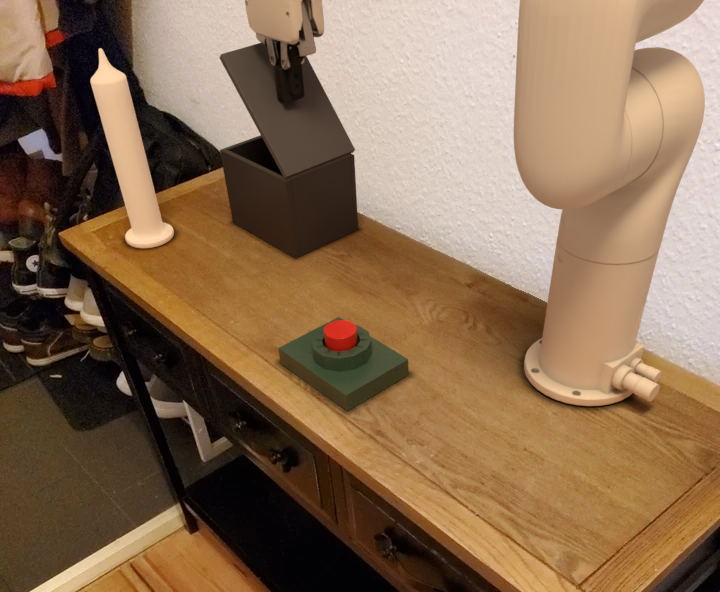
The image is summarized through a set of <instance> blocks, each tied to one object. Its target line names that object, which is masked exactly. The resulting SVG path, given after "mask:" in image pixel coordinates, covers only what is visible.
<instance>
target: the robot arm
mask: <svg viewBox="0 0 720 592" xmlns="http://www.w3.org/2000/svg"><path fill="white" fill-rule="evenodd" d="M704 1H705V0H519V6H518V22H517V43H516V63H515V83H514V84H515V86H514V107H513V108H514V109H513V151H514V158H515V163H516V167H517V170H518V173H519V176H520V178H521V181H522V182H523V185H524V187H525V188H526V189H527V191H528V192H529V193H530V195H531V196H532V197H533V198H534V199H535V200H536V201H538V202H539V203H541V204H543V205H544V206H546V207H548V208H551V209H555V210H561V214H560V219H559V226H558V229H557V230H558V231H557V237H556V243H555V250H554V256H553V263H552V270H551V276H550V283H549V289H548V290H549V291H548V297H547V303H546V304H547V305H546V310H545V317H544V323H543V329H542V330H543V331H542V335H541V336H542V337H541V338H538V339H537V340H536V341H535V342H533V343H532V344H531V345H530V346H529V347H528V348H527V350H526V353H525V355H524V360H523V361H524V362H523V371H524V374H525V377H526V378H527V380H528V382H529V383H530V384H531V385H532V386H533V387H534V388H535V389H536V390H537V391H539V392H540V393H541V394H543V395H545V396H547V397H549V398H551V399H553V400H555V401H558V402H561V403H564V404H569V405H574V406H583V407H600V406H601V407H602V406H606V405H612V404H616V403H618V402H622V401H623V400H625V399H627V398H629V397H631V395H633V394H634V395H636V396H637V397H639V398H641V399H643V400H644V401H647V402H649V403H650V402H652V401H653V400H655V398H656V397H657V395H658V394H659V391H660V389H661V385H660V384H659V383H658V382H659V381H660V379H661V378H662V376H663V371H661V370H659V369H658V368H656V367H653V366H651V365H648V364H646V363H645V362H644V360H643V359H642V357H643V353H644V348H645V344H642V343H640V342H638V341H637V338H638V334H639V330H640V326H641V323H642V318H643V315H644V311H645V307H646V303H647V299H648V295H649V292H650V288H651V284H652V278H653V276H654V272H655V268H656V264H657V260H658V257H659V252H660V249H661V246H662V242H663V239H664V234H665V232H666V231H665V230H666V227H667V223H668V219H669V215H670V213H671V209H672V207H673V203H674V200H675V197H676V194H677V191H678V189H679V186H680V183H681V180H682V178H683V176H684V174H685V171H686V170H687V168H688V167H687V166H688V165H689V162H690V159H691V158H692V155H693V153H694V150H695V147H696V145H697V142H698V139H699V136H700V132H701V129H702V125H703V123H704V116H705V107H706V106H705V105H706V104H705V103H706V97H705V89H704V84H703V81H702V78H701V76H700V74H699V72H698V70H697V68H696V67H695V65H694V64H693V62H691V61H690V60H689V59H688V58H687V57H686V56H684V55H683V54H682V53H679V52H677V51H676V50H673V49H669V48H666V47H659V46H658V47H657V46H656V47H653V46H652V47H642V48H637V49H636V46H637V45H636V44H638V43H640V42H643V41H645V40H648V39H650V38H652V37H655V36H657V35H659V34H662V33H663V32H666V31H667V30H669V29H671V28H673V27H675V26H677V25H679V24H681V23H683V22H684V21H686V20H687V19H688V18H689V17H691V16H692V15H693V14H694V13H695V12H696V11H698V9H699V8H700V7H701V5H702V4H703V3H704ZM244 5H245V12H246V15H247V16H246V18H247V22H248V25H249V28H250V29H251V30H252V31H253V32H254V33H255V37H256V40H257V41H258V42H259V43H262V44H264V45H265V46H266V48H267V50H268V53H269V58H270V62H271V64H272V65H273V66H275V65H276V66H275V67H274V74H275V82H276V91H277V98H278V100H279V101H283V102H285V103H290V102H292V101H295V100H298V99H301V98H303V97H304V84H303V73H302V64H304V57H305V56H307V57H308V56H310V55H314V54H316V53H317V47H316V46H317V45H316V42H315V41H316V40H315V38H320V37H322V36H323V35H324V33H325V20H324V19H325V16H324V7H323V0H244Z"/></svg>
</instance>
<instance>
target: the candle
mask: <svg viewBox="0 0 720 592" xmlns="http://www.w3.org/2000/svg"><path fill="white" fill-rule="evenodd" d="M89 83H90V85H91V89H92V93H93V97H94V100H95V104H96V107H97V110H98V113H99V114H98V115H99V116H100V121H101V125H102V129H103V131H104V135H105V139H106V142H107V146H108V149H109V153H110V156H111V160H112V164H113V167H114V171H115V175H116V178H117V181H118V185H119V187H120V188H119V189H120V192H121V195H122V199H123V202H124V206H125V209H126V213H127V217H128V220H129V224H130V228H129V229H128V230H127V231H126V232H125V234H124V239H125V242H126V244H127V245H129V246H130V247H132V248H136V249H153V248H157V247H160V246H163V245H165V244H167V243H169V242H170V241H171V240H173V237H174V236H175V230H174V227H173V226H172V225H171V224H170V223H167V222H164V221H163V219H162V214H161V210H160V206H159V202H158V198H157V194H156V190H155V186H154V183H153V178H152V175H151V171H150V166H149V161H148V158H147V155H146V150H145V147H144V142H143V139H142V135H141V130H140V126H139V121H138V118H137V114H136V110H135V107H134V102H133V99H132V94H131V91H130V87H129V82H128V79H127V75H126V74H125V72H122V71H121V70H118V69H117V68H116V67H114V66H113V65H112V64H111V63H110V61H109V59H108V57H107V56H106V54H105V51H104V49H103V48H101V47H100V48H98V68H97V69H96V70H95V72H94V74H93V75H92V76H91V77H90V82H89Z"/></svg>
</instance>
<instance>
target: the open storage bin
mask: <svg viewBox="0 0 720 592" xmlns="http://www.w3.org/2000/svg"><path fill="white" fill-rule="evenodd" d="M219 153H220V158H221V164H222V169H223V175H224V181H225V186H226V193H227V197H228V203H229V207H230V208H229V209H230V214H231V220H232V223H233V224H235V225H236V226H238V227H239V228H241V229H243V230H245V231H246V232H249V233H250V234H252V235H253V236H255V237H257V238H259V239H260V240H263V241H264V242H266V243H267V244H269V245H271V246H273V247H274V248H277V249H278V250H280V251H282V252H284V253H285V254H287V255H288V256H290V257H293V258H294V259H298V258H300V257H302V256H304V255H307V254H309V253H311V252H313V251H315V250H317V249H320V248H322V247H324V246H326V245H328V244H331V243H332V242H335V241H337V240H340V239H341V238H343V237H346V236H348V235H350V234H352V233H354V232H357V231H359V217H358V216H359V215H358V201H357V199H358V197H357V180H356V162H355V154H353V153H351V154H348V155H346V156H343V157H341V158H338V159H336V160H333V161H331V162H328V163H326V164H323V165H320V166H318V167H315V168H313V169H310V170H308V171H305V172H303V173H300V174H298V175H295V176H293V177H290V178H288V179H284V177H283V175H282V173H281V171H280V169H279V168H278V166H277V164H276V162H275V160H274V158H273V157H272V155H271V153H270V151H269V149H268V147H267V145H266V144H265V142H264V140H263V138H262V136H261V134H260V135H258V136H255V137H251V138H249V139H246V140H243V141H241V142H238V143H235V144H232V145H229V146H227V147H223V148H221V149H219Z"/></svg>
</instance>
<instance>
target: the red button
mask: <svg viewBox="0 0 720 592" xmlns="http://www.w3.org/2000/svg"><path fill="white" fill-rule="evenodd" d="M355 325H356V324H355V323H354V322H352V321H350V320H345V319H343V320H338V321H333V322H331V323H329V324H327V325H326V326H325V328H324V338H325V345H326V347H327V348H328V349H330V350H332V351H338V352H339V351H346V350H350V349H352V348H354V347H355V346H356V345H357V327H356V326H355Z"/></svg>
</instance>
